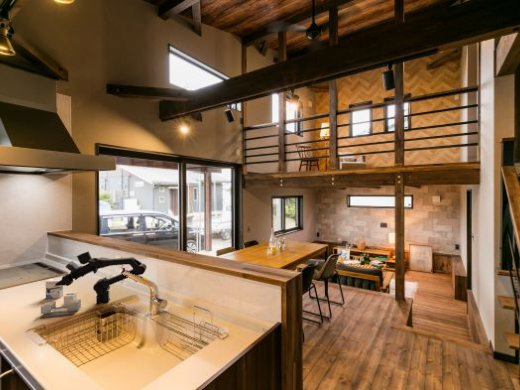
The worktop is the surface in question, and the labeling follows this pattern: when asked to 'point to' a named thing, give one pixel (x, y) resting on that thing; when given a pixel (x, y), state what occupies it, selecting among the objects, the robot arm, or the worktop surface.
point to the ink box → (53, 289)
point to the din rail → (59, 309)
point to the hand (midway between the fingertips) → (58, 282)
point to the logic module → (69, 297)
